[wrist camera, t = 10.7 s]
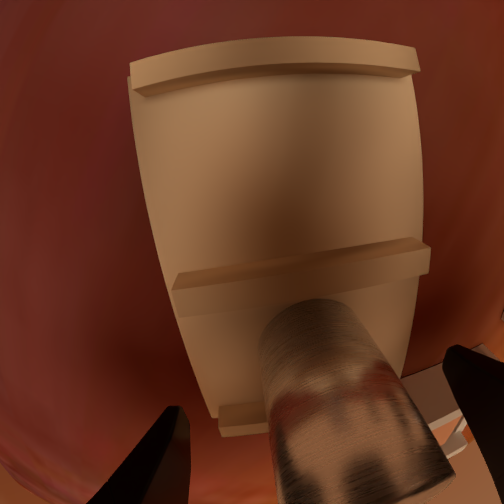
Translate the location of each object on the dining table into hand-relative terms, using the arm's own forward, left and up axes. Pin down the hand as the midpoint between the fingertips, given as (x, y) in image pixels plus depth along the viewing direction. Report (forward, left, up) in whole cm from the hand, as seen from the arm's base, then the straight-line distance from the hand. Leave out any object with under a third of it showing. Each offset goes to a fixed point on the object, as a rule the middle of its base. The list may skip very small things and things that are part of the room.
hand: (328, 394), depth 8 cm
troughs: (0, -3, -4) cm, 5 cm away
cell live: (0, 0, -2) cm, 3 cm away
